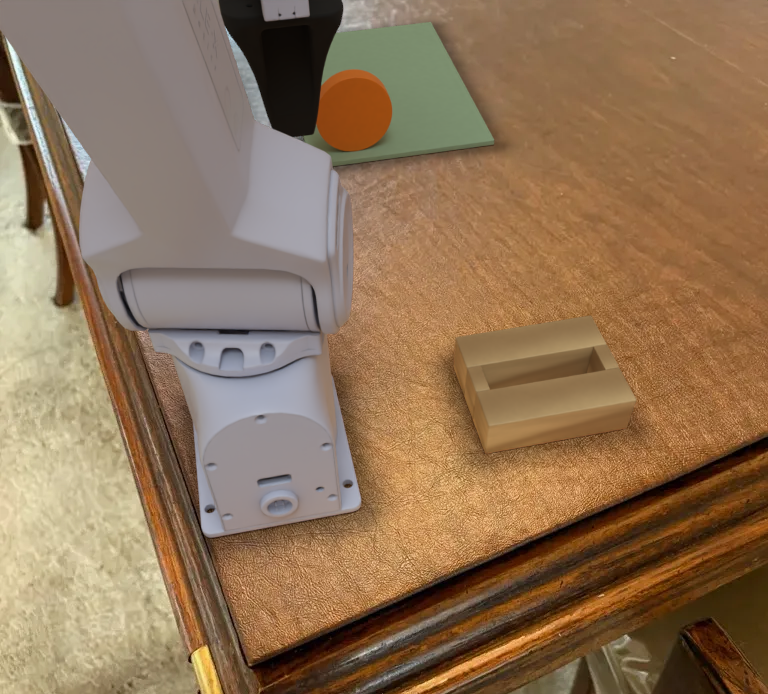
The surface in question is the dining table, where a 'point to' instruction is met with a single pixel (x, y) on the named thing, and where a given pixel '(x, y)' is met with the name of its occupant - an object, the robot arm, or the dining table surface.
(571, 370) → the holder
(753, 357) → the dining table surface
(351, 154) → the mat
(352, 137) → the disc
